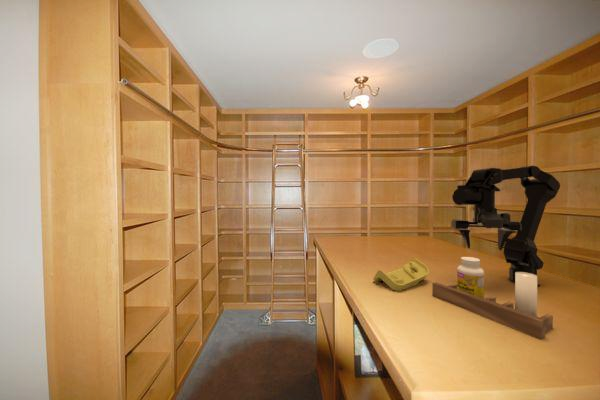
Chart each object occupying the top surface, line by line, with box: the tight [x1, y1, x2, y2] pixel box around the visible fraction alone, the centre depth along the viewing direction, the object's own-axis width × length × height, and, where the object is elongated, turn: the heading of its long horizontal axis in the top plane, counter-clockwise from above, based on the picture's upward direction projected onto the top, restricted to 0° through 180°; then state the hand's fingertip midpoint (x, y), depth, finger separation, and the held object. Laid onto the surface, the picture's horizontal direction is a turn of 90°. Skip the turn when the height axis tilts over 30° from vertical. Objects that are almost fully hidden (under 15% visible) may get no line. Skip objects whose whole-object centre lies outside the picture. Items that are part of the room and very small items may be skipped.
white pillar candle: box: [514, 272, 538, 317], centre depth 59 cm, size 4×4×12 cm
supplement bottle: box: [456, 256, 485, 298], centre depth 71 cm, size 7×7×13 cm
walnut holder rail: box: [432, 281, 554, 340], centre depth 65 cm, size 8×26×4 cm, turn 26°
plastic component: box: [373, 257, 430, 292], centre depth 87 cm, size 20×7×10 cm
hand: (484, 249), depth 82 cm, fingers open, 9 cm apart
